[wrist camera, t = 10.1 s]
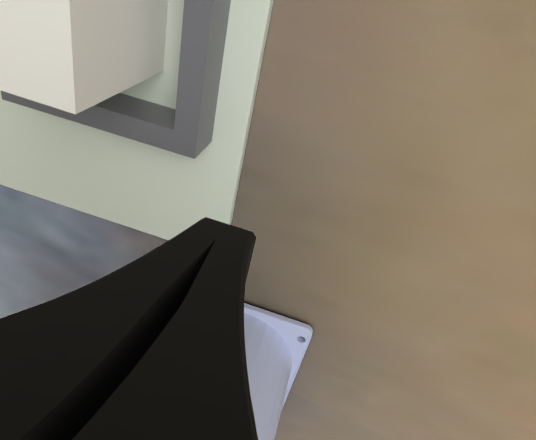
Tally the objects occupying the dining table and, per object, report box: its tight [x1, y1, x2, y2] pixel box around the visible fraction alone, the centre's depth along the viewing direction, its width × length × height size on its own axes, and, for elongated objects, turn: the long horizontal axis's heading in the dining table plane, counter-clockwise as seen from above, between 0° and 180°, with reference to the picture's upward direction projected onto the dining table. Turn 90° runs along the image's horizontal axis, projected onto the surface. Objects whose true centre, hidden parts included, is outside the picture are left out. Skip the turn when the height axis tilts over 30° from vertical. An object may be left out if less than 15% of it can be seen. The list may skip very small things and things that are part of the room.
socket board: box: [0, 0, 274, 240], centre depth 18 cm, size 16×14×2 cm
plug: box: [0, 0, 168, 114], centre depth 14 cm, size 5×4×6 cm
